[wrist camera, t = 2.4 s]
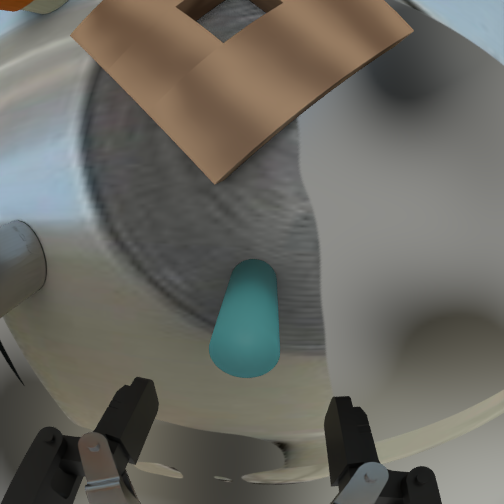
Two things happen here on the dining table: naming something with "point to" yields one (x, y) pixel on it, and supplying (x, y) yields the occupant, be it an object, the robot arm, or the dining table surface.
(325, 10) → the socket block
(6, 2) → the reusable coffee cup
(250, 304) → the peg
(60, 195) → the dining table surface
